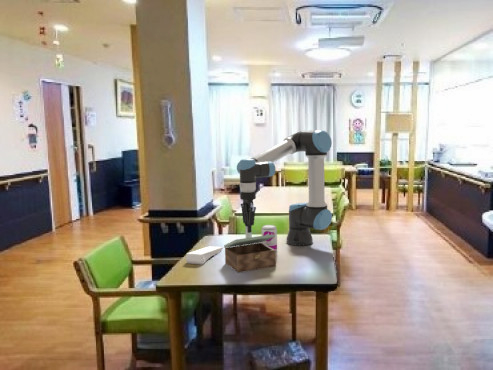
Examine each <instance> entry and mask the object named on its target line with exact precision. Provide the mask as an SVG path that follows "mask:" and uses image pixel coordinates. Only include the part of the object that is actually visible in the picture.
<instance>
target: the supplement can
mask: <svg viewBox="0 0 493 370" xmlns="http://www.w3.org/2000/svg"><path fill="white" fill-rule="evenodd" d="M272 234H275V237H273V238H271V239H268V240H266V241H263V242H261V243H263V244H265V245H267V246H269V247H271V248H273V249H275V250H276V254H278V229H277V227H276V225H274V224H265V225H264V224H263V225H262V227H261V236H265V235H272Z"/></svg>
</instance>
